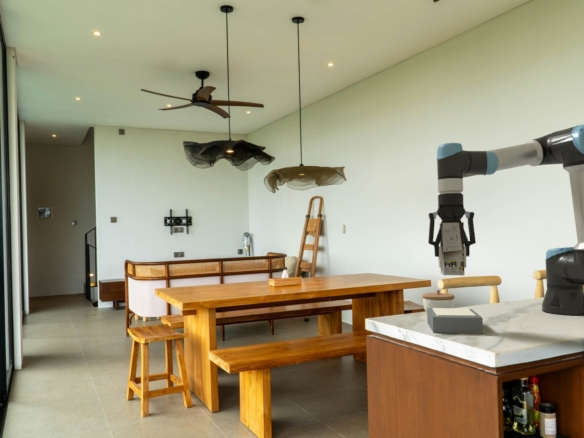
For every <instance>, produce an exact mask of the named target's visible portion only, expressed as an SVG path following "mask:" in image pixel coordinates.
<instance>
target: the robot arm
mask: <svg viewBox="0 0 584 438" xmlns="http://www.w3.org/2000/svg"><path fill="white" fill-rule="evenodd" d="M546 165H547V166H548V165H562V169H563V170H565V171H566V172H567V173H568V177H569V184H570V193H571V198H572V207H573V215H574V222H575V223H574V224H575V232H576V239H577V243H576V244H575V245H574V246H568V247H567V246H565V247H557V248H550V249H548V250H546V252H545V275H546V277H545V278H546V291H545V294H544V298H543V300H542V304H541V311H542V312H545V313H549V314H555V315H565V316H567V315H568V316H569V315H570V316H580V315H582V316H583V315H584V124H578V125H574V126H572V127H567V128H565V129H561V130H556V131H554V132H552V133H548V134H545V135H543V136H540V137H537V138H534V139H529V140H527V141H526V142H525V143H522V144H517V145H511V146H506V147H500V148H495V149H490V150H463V145H462V143H459V142H448V143H447V142H445V143H441V144H439V145H438V147H437V151H436V167H437V169H436V170H437V171H436V172H437V193H439V194H438V195H437V204H438V205H437V210H436V211H434V212H429V213H428V214H427V215H428V219H429V225H428V226H429V227H428V228H429V229H428V244H429V245H432V246H434V257H435V258H438V259H437V261H438V262H437V263H438V264H437V266H438V268H439V269H441V268H442V247H441V246H440V241H441V225H440V224H439V229H438V231H437V235H436V237H435V240H434V234H435V224H436V223H435V222H436V221H435V220H436V219H437V216H438V217H439V218H440V220H441V222H440V223H450V222H462V218H463V217H464V216H465V217H466V219H467V228H468V235H469V237H468V236H467V233H466V231H465V229H464V269H465V268H467V257H470V254H471V253H470V252H471V251H470V246H472V245H475V244H476V243H477V241H476V234H475V224H474V218H475V212H473V211H467V210H466V209H465V206H464V194H463V193H462V192H464V180H463V179H464V178H469V177H475V176H490V175H494V174H495V173H496V172H498V171H503V170H508V169H512V168H518V167H523V166H530V167H538V166H546ZM468 238H469V239H468Z"/></svg>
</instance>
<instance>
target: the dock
mask: <svg viewBox="0 0 584 438" xmlns="http://www.w3.org/2000/svg"><path fill="white" fill-rule="evenodd" d="M426 316H427V317H426V318H427V320H426V322H427V325H428V326H429V328H430V330H431V331H432V333H433V334H436V333H437V334H479V335H480V334H482V335H483V334H484V326H483V325H484V322H483V321H484V320H483V317H482V315H480V314H479V313H477V312H476V311H475V310H474V309H472V308H469V307H467V308H462V307H459V308H456V307H454V308H432V309H427V313H426Z"/></svg>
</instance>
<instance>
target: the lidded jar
mask: <svg viewBox="0 0 584 438" xmlns="http://www.w3.org/2000/svg"><path fill="white" fill-rule="evenodd" d="M455 297H456V296H455V295H454V294H453V293H446V292H441V290H440V289H436V292H429V293H428V292H426V293H423V294H422V305H423V306H422V307H423V308H424V311H425V313H426V314H427V309H432V308H455Z"/></svg>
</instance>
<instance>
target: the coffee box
mask: <svg viewBox="0 0 584 438" xmlns="http://www.w3.org/2000/svg"><path fill="white" fill-rule="evenodd" d="M440 225H441V241H440V244H439V246H441V247H442V268H440V274H441V275H443V276H465V268H464V230H465V225H464V222H463V221H461V222H450V223H441V222H440V223H439V226H440Z"/></svg>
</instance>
